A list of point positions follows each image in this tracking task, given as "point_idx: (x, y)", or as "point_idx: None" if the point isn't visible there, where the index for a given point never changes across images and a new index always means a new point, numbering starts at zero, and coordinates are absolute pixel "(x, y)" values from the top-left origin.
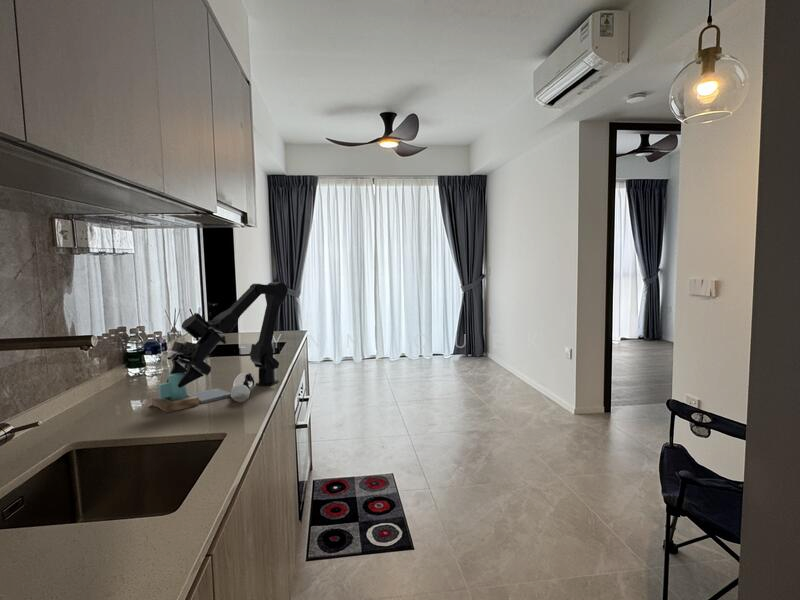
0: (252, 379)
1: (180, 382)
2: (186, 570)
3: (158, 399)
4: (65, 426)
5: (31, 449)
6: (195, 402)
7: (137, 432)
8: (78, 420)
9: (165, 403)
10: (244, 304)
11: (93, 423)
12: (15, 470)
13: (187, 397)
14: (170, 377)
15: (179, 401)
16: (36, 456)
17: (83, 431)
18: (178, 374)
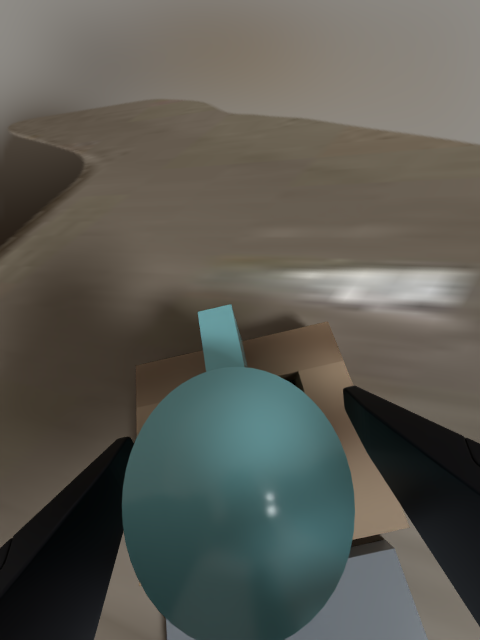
0: None
1: (89, 466)
2: None
3: (266, 345)
4: (231, 143)
5: (118, 122)
6: None
7: (30, 269)
8: (268, 158)
9: (163, 362)
10: None
11: (210, 185)
12: (34, 123)
13: (373, 543)
14: (188, 383)
15: None
16: (71, 133)
17: (157, 174)
18: (224, 501)
